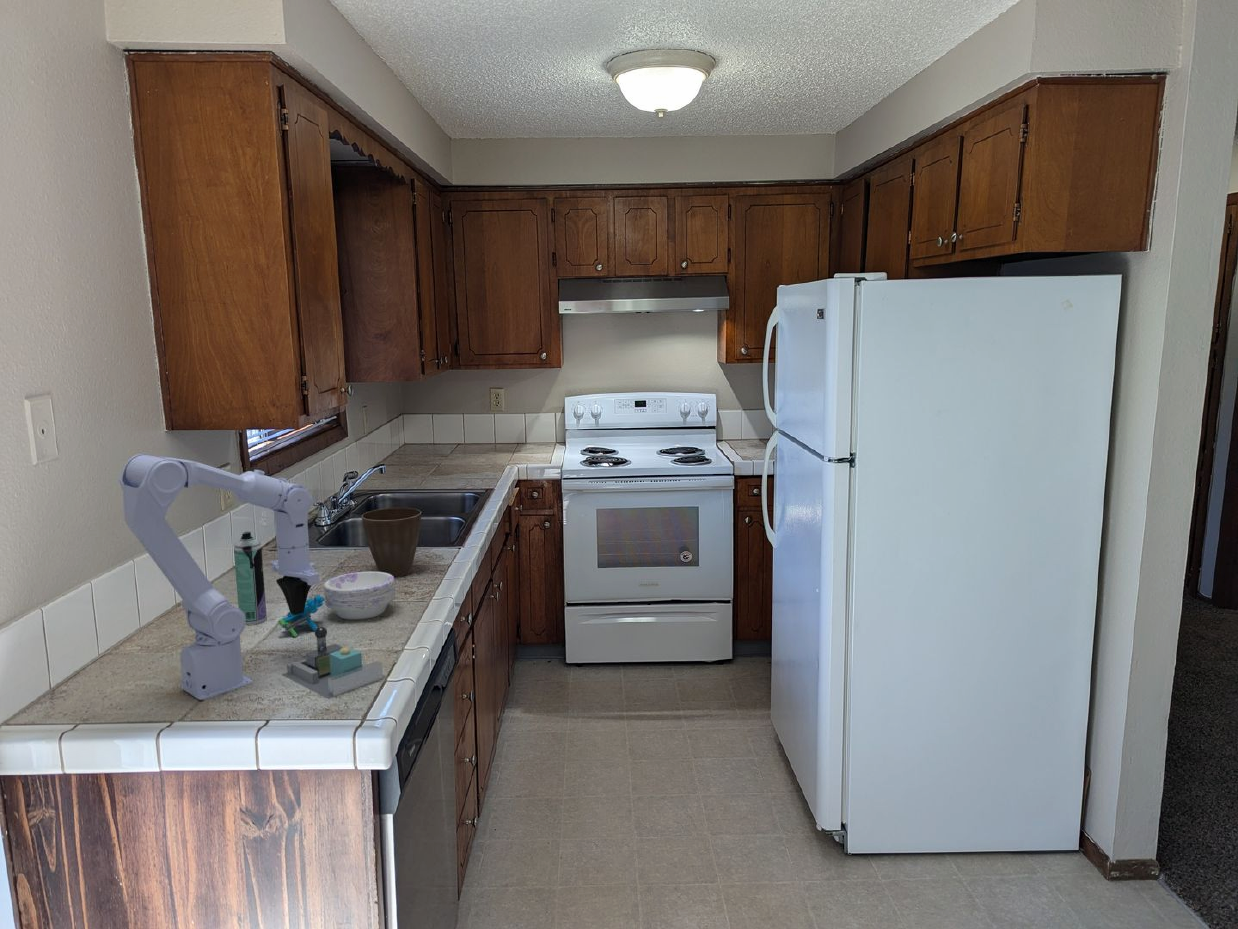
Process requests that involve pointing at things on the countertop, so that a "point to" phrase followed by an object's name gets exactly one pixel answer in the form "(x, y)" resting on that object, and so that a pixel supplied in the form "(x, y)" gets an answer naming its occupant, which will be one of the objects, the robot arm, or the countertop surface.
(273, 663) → the countertop surface
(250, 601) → the spray can
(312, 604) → the blue toy water gun
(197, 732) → the countertop surface
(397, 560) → the plant pot
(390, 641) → the countertop surface
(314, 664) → the block
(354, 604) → the paper bowls
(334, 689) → the base
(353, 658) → the block
